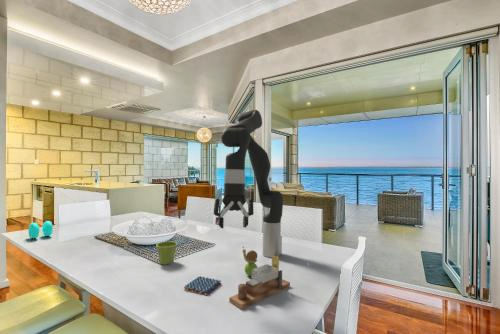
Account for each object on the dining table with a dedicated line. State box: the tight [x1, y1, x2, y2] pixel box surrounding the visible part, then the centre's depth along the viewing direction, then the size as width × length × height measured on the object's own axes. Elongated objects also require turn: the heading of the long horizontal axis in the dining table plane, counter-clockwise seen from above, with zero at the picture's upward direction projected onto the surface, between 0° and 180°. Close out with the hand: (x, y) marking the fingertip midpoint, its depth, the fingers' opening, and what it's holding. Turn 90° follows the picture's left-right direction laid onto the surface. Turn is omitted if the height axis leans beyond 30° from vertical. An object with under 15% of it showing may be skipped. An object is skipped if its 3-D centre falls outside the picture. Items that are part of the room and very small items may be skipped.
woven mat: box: [183, 275, 222, 296], centre depth 92 cm, size 10×11×2 cm
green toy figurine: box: [242, 246, 259, 277], centre depth 103 cm, size 5×6×12 cm
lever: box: [271, 255, 280, 274], centre depth 93 cm, size 1×4×6 cm, turn 42°
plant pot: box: [155, 240, 178, 266], centre depth 116 cm, size 9×9×9 cm
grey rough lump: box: [250, 263, 278, 283], centre depth 89 cm, size 8×6×3 cm
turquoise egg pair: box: [28, 220, 54, 239], centre depth 155 cm, size 10×10×10 cm
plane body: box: [228, 269, 291, 310], centre depth 88 cm, size 24×6×7 cm, turn 132°
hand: (233, 227), depth 89 cm, fingers open, 8 cm apart
